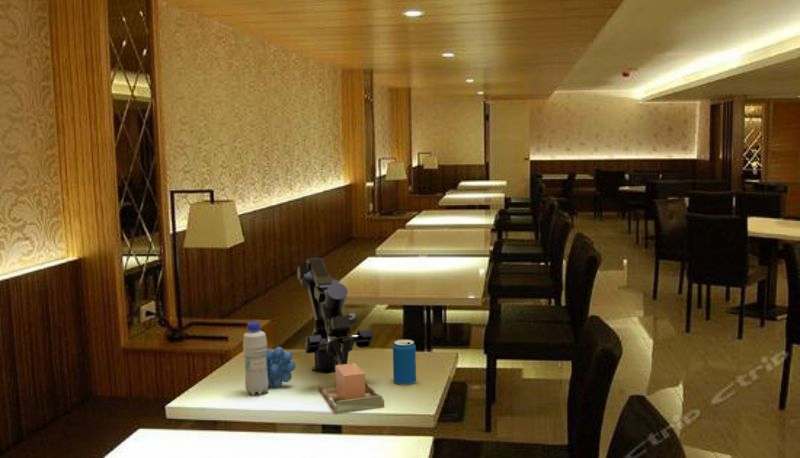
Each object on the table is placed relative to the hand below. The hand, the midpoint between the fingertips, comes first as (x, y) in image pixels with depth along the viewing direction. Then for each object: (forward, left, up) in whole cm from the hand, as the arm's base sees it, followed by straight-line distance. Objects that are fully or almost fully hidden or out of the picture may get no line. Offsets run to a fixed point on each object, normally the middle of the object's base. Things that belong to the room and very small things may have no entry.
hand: (345, 367), depth 206 cm
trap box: (+4, -3, -7) cm, 9 cm away
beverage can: (+9, +16, -8) cm, 20 cm away
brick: (+4, -3, -7) cm, 9 cm away
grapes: (-21, -5, -8) cm, 23 cm away
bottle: (-23, -11, -8) cm, 26 cm away
